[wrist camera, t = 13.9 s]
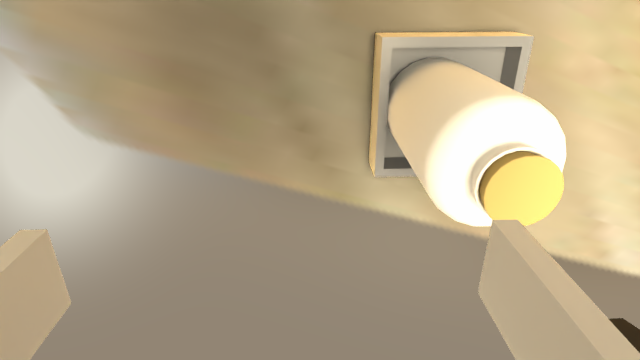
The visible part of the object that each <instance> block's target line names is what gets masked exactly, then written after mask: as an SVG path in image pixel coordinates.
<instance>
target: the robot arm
mask: <svg viewBox="0 0 640 360" xmlns="http://www.w3.org/2000/svg"><path fill="white" fill-rule="evenodd" d="M478 293H479V296H480V297H481V299H482V301H483V302H484V304H485V306H486V308H487V310H488V311H489V313H490V315H491V317H492V318H493V320H494V322H495V324H496V325H497V327H498V329H499V331H500V333H501V334H502V336H503V338H504V340H505V342H506V343H507V345H508V347H509V349H510V350H511V352H512V354H513V356H514V357H515V359H516V360H640V329H638V328H637V327H635V326H633V325H632V324H630V323H629V322H627V321H626V320H624V319H623V318H621V319H620V318H618V319H608V318H607V317H606V316H605V315H604V314H603V313H602V312H601V310H600V309H599V308H598V307H597V306H596V305H595V304H594V303H593V302H592V301H591V299H590V298H589V297H588V296H587V295H586V294H585V293H584V292H583V291H582V290H581V289H580V288H579V286H578V285H577V284H576V283H575V282H574V281H573V280H572V279H571V278H570V276H569V275H568V274H567V273H566V272H565V271H564V270H563V269H562V268H561V267H560V265H559V264H558V263H557V262H556V261H555V260H554V259H553V258H552V257H551V256H550V255H549V253H548V252H547V251H546V250H545V249H544V248H543V247H542V246H541V245H540V244H539V242H538V241H537V240H536V239H535V238H534V237H533V236H532V235H531V234H530V233H529V232H528V230H527V229H526V228H525V227H524V226H523V225H522V224H521V223H520V222H519V221H518V220H517V219H516V220H492V224H491V229H490V234H489V239H488V244H487V249H486V254H485V259H484V264H483V269H482V274H481V279H480V284H479V289H478ZM70 305H71V300H70V297H69V294H68V291H67V288H66V285H65V282H64V279H63V276H62V273H61V270H60V267H59V264H58V261H57V258H56V255H55V252H54V249H53V246H52V243H51V240H50V237H49V234H48V231H47V229H42V230H19V231H18V232H17V233H16V234H15V235H14V236H12V237H11V238H10V239H9V240H8V241H7V242H5V243H4V244H3V245H2V246H1V247H0V360H30V359H31V357H32V356H33V355H34V353H35V352H36V351H37V349H38V348H39V347H40V345H41V344H42V343H43V341H44V340H45V339H46V337H47V336H48V334H49V333H50V331H51V330H52V329H53V328H54V326H55V325H56V323H57V322H58V321H59V320H60V318H61V317H62V315H63V314H64V313H65V311H66V310H67V308H68V307H69V306H70Z"/></svg>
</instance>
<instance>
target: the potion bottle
mask: <svg viewBox="0 0 640 360" xmlns="http://www.w3.org/2000/svg"><path fill="white" fill-rule="evenodd" d="M387 126H388V128H389V130H390V132H391V133H392V135H393V137H394V138H395V140H396V142H397V143H398V145H399V147H400V149H401V150H402V152H403V154H404V155H405V157H406V159H407V160H408V162H409V164H410V165H411V167H412V169H413V171H414V172H415V174H416V176H417V177H418V179H419V181H420V182H421V184H422V186H423V188H424V189H425V191H426V193H427V194H428V196H429V197H430V198H431V200H432V201H433V203H434V204H435V206H436V207H437V208H438V209H439V210H441V211H442V212H443V213H445V214H446V215H448V216H449V217H451V218H452V219H453V220H455V221H457V222H461V223H464V224H468V225H471V226H491V224H492V220H516V219H517V220H518V221H519V222H520V223H521V224H522V225H523V226H526V225H530V224H533V223H535V222H537V221H539V220H541V219H542V218H544V217H546V216H547V215H548V214H549V213H550V212H551V211H552V210H553V209H554V208H555V206H556V205H557V203H558V202H559V200H560V199H561V196H562V192H563V189H564V179H563V174H562V170H563V167H564V163H565V160H566V142H565V135H564V133H563V131H562V129H561V127H560V125H559V123H558V121H557V119H556V118H555V116H554V115H553V114H552V113H550V112H549V111H548V110H547V109H546V108H545V107H544V106H542V105H541V104H540V103H539V102H538V101H536V100H534V99H532V98H530V97H528V96H526V95H524V94H522V93H519V92H517V91H515V90H513V89H511V88H509V87H507V86H505V85H503V84H501V83H499V82H497V81H495V80H493V79H491V78H489V77H487V76H485V75H483V74H481V73H479V72H477V71H475V70H473V69H471V68H469V67H467V66H465V65H463V64H461V63H459V62H456V61H453V60H450V59H447V58H426V59H423V60H420V61H417V62H414V63H412V64H411V65H409V66H408V67H406V68H405V69H404V70H402V71H401V72H400V73H399V74H398V76H397V77H396V78H395V79H394V81H393V82H392V83H391V85H390V87H389V97H388V112H387Z"/></svg>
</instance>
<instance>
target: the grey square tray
mask: <svg viewBox="0 0 640 360" xmlns="http://www.w3.org/2000/svg"><path fill="white" fill-rule="evenodd" d="M533 39H534V36H532V35H527V34H523V33H518V32H393V33H375V49H374V69H373V89H372V109H371V129H370V149H369V164H370V167H371V170H372V172H373V175H374V177H417V176H416V174H415V172H414V171H413V169H412V167H411V165H410V164H409V162H408V160H407V159H406V157H405V155H404V154H403V152H402V150H401V149H400V147H399V145H398V143H397V142H396V140H395V138H394V137H393V135H392V133H391V132H390V130H389V128H388V126H387V112H388V97H389V87H390V85H391V83H392V82H393V81H394V79H395V78H396V77H397V76H398V74H399V73H400V72H401V71H402V70H404V69H405V68H406V67H408V66H409V65H411V64H412V63H414V62H417V61H420V60H423V59H426V58H447V59H450V60H453V61H456V62H459V63H461V64H463V65H465V66H467V67H469V68H471V69H473V70H475V71H477V72H479V73H481V74H483V75H485V76H487V77H489V78H491V79H493V80H495V81H497V82H499V83H501V84H503V85H505V86H507V87H509V88H511V89H513V90H515V91H517V92H519V93H523V88H524V83H525V78H526V73H527V69H528V64H529V59H530V54H531V49H532V44H533Z"/></svg>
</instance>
